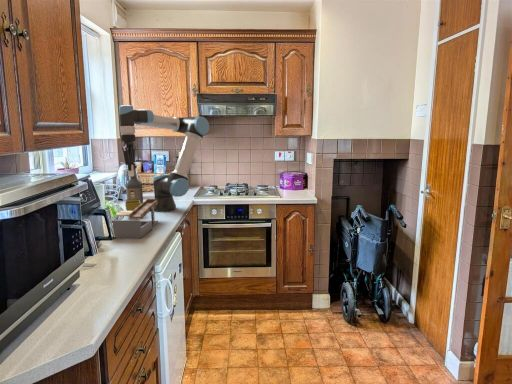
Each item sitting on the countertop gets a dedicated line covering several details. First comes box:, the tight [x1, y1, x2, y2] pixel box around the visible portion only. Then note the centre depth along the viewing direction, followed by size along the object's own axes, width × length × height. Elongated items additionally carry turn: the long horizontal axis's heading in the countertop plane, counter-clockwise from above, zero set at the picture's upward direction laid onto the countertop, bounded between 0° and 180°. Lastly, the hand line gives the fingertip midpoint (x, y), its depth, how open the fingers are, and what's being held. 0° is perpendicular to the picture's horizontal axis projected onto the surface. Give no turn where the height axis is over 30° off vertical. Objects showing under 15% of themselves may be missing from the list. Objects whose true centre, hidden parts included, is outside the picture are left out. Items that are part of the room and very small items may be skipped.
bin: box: [111, 219, 153, 239], centre depth 184 cm, size 15×15×9 cm
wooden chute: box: [115, 198, 158, 219], centre depth 201 cm, size 24×16×5 cm, turn 176°
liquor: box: [125, 163, 144, 205], centre depth 240 cm, size 9×9×30 cm
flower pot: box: [124, 200, 140, 218], centre depth 221 cm, size 9×9×9 cm
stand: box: [135, 207, 159, 228], centre depth 201 cm, size 8×12×10 cm, turn 86°
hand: (131, 176), depth 204 cm, fingers closed
